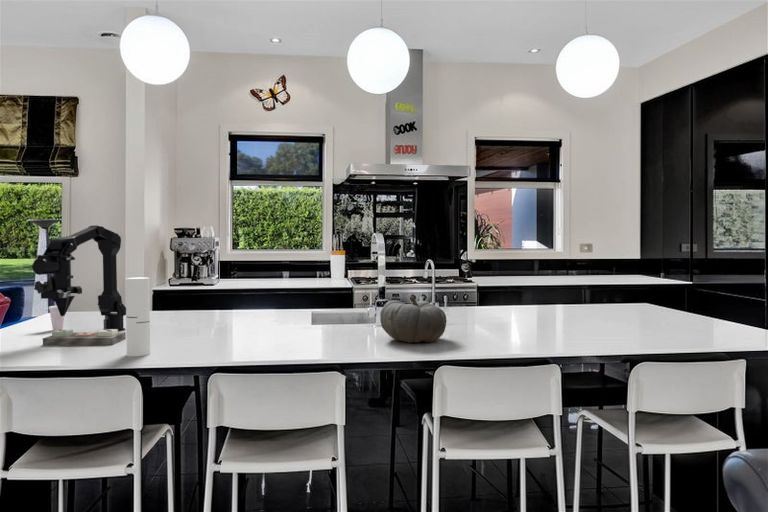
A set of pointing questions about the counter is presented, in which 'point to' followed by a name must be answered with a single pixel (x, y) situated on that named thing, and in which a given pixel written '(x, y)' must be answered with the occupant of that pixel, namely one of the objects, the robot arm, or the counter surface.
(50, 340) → the tile board
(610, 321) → the counter surface
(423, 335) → the gourd
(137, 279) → the cylindrical container
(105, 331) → the tile three
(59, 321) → the smoothie
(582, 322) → the counter surface
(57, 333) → the tile two
